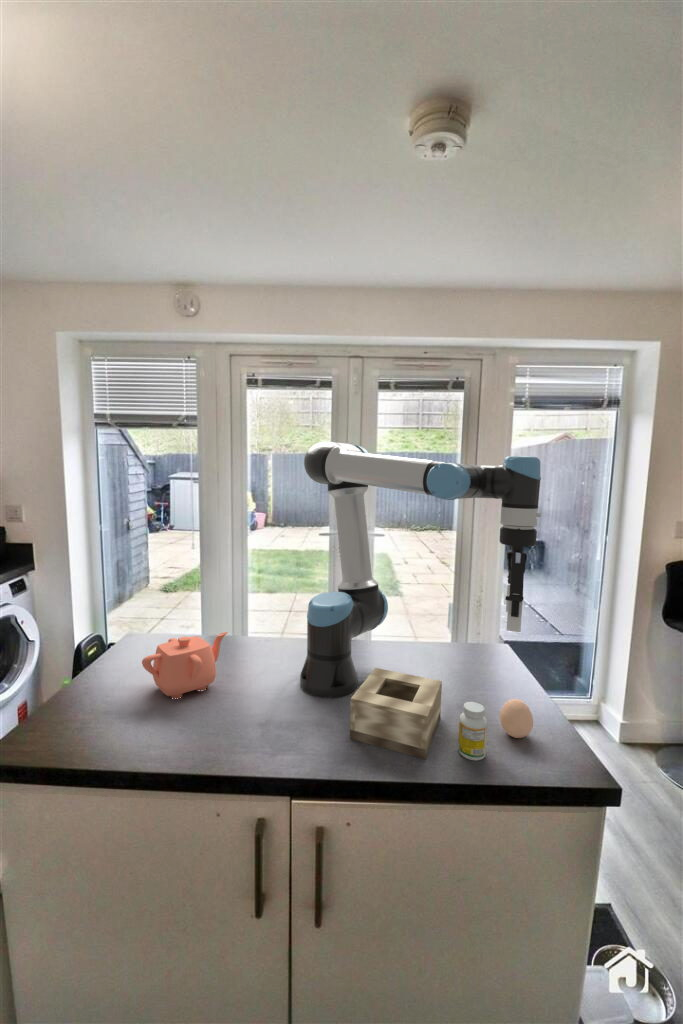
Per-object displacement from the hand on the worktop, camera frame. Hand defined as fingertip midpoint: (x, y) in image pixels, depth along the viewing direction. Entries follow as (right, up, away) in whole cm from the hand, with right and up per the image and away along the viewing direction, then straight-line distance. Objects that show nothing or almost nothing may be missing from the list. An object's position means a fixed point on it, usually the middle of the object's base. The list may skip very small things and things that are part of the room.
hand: (512, 621), depth 97 cm
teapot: (-78, -21, +14) cm, 82 cm away
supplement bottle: (-12, -24, -10) cm, 29 cm away
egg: (-1, -24, -4) cm, 24 cm away
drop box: (-26, -23, -2) cm, 35 cm away
